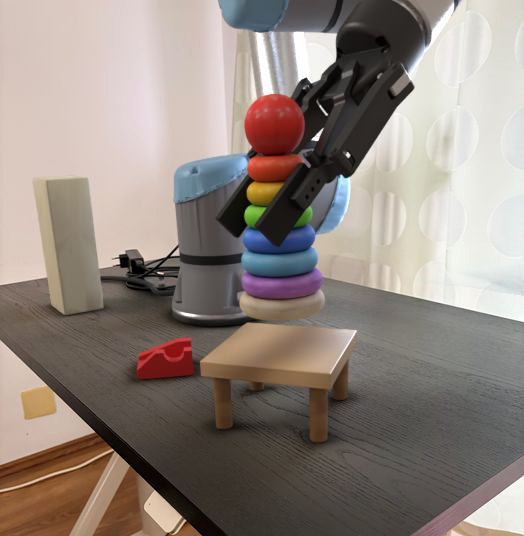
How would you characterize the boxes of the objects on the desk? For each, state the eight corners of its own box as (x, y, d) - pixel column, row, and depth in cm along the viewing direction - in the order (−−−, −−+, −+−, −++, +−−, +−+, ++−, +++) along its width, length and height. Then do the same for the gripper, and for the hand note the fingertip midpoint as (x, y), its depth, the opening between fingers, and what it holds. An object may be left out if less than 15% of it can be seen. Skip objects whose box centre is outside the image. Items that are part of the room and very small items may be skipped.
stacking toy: (228, 307, 57) (213, 99, 51) (302, 296, 60) (297, 97, 53) (258, 328, 50) (245, 90, 44) (340, 314, 53) (339, 88, 46)
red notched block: (192, 360, 73) (190, 337, 72) (193, 374, 68) (191, 350, 67) (140, 364, 72) (137, 341, 71) (137, 379, 67) (134, 355, 66)
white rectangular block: (109, 307, 97) (92, 176, 90) (65, 316, 93) (43, 179, 86) (93, 298, 103) (76, 174, 96) (51, 305, 100) (30, 177, 92)
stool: (205, 430, 55) (199, 361, 53) (249, 381, 66) (246, 322, 63) (330, 447, 51) (330, 373, 49) (356, 393, 62) (357, 329, 59)
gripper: (497, 48, 48) (340, 276, 45) (345, 73, 63) (221, 245, 60) (458, -36, 43) (281, 212, 41) (305, 13, 58) (169, 196, 56)
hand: (246, 231), depth 50 cm, fingers closed on stacking toy, 6 cm apart
